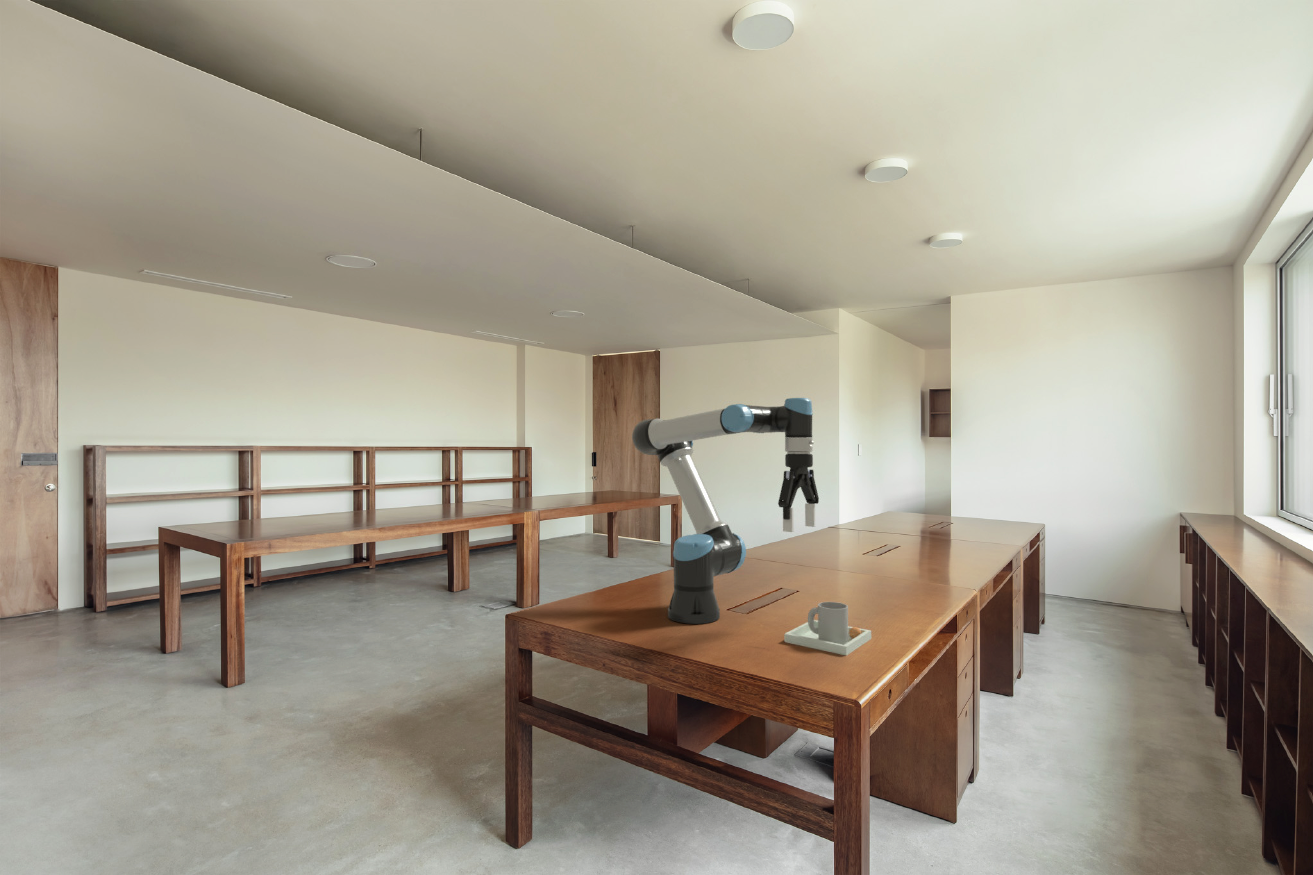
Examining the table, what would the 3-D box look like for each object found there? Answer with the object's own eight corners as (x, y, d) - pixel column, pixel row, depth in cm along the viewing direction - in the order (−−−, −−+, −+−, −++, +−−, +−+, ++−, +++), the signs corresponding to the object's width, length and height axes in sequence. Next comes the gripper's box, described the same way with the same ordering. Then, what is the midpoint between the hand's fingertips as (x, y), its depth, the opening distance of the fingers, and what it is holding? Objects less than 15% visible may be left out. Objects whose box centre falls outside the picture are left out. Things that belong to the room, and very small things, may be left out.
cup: (845, 647, 148) (844, 610, 149) (804, 641, 153) (803, 605, 153) (850, 639, 155) (850, 603, 155) (811, 633, 160) (811, 599, 160)
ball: (847, 639, 155) (847, 627, 155) (851, 636, 157) (851, 624, 157) (858, 641, 153) (858, 629, 153) (863, 638, 155) (863, 626, 155)
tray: (784, 645, 153) (784, 633, 153) (812, 630, 165) (812, 619, 165) (846, 659, 143) (846, 646, 143) (871, 642, 155) (871, 630, 155)
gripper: (790, 453, 160) (791, 535, 159) (830, 452, 179) (830, 525, 179) (764, 453, 164) (765, 532, 164) (806, 452, 184) (806, 523, 183)
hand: (799, 529), depth 171 cm, fingers open, 13 cm apart
